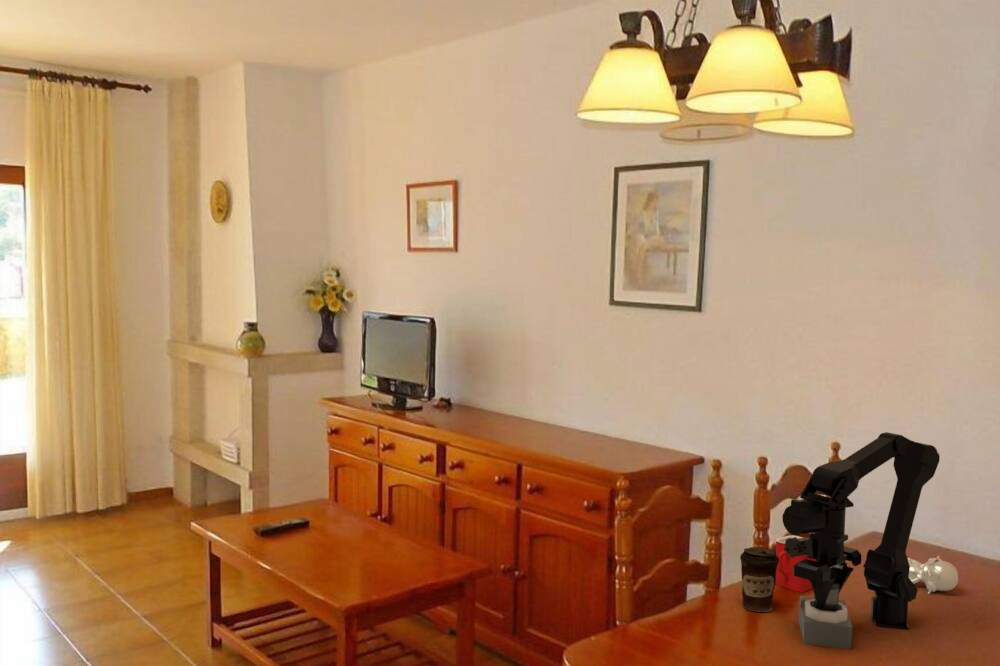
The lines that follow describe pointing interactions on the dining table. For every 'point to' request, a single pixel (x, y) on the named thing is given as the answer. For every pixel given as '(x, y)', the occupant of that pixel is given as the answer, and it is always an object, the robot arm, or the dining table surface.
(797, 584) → the mug
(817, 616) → the camera body
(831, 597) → the lens
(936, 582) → the figurine
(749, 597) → the coffee cup
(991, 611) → the dining table surface
